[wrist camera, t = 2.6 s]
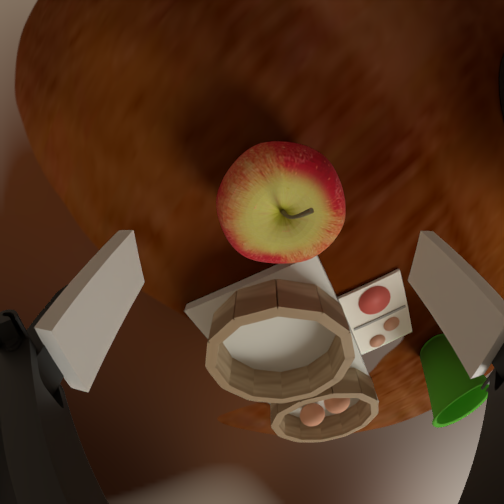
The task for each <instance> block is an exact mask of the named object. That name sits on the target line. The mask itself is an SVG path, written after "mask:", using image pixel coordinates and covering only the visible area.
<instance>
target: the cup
mask: <svg viewBox="0 0 504 504" xmlns="http://www.w3.org/2000/svg"><path fill="white" fill-rule="evenodd" d="M420 359H421V363H422V367H423V371H424V375H425V379H426V383H427V388H428V392H429V397H430V402H431V407H432V412H433V417H434V419H433V421H432V424H433V426H435V427H444V426H448V425H450V424H452V423H455V422H457V421H459V420H461V419H462V418H464V417H466V416H467V415H469V414H470V413H471V412H473V411H474V410H475V409H477V408H478V407H479V406H480V405H481V404H482V403H483V402H484V401H485V400H486V399H487V398H488V392H487V391H486V389H487V388H488V387H489V384H487V385H486V386H485V387H484V389H483V390H481V387H482V385H483V383H484V382H485V381H486V379H487V378H486V377H485V376H484V375H481V376H478V377H475V378H472V379H470V377H469V375H468V373H467V371H466V370H465V368H464V366H463V364H462V363H461V361H460V359H459V358H458V356H457V354H456V352H455V351H454V349H453V347H452V346H451V344H450V343H449V341H448V339H447V338H446V336H445V334H439V335H436V336H434V337H432V338H431V339H430V340H428V341H427V342H426V343H425V344H424V346H423V347H422V349H421V351H420Z"/></svg>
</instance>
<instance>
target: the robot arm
mask: <svg viewBox="0 0 504 504" xmlns="http://www.w3.org/2000/svg"><path fill="white" fill-rule="evenodd" d="M499 87H500V99H501V106H502V111H503V116H504V56H503V58H502V62H501V66H500V76H499ZM408 282H409V283H410V284H411V286H412V287H413V289H414V290H415V291H416V293H417V294H418V296H419V297H420V298H421V300H422V301H423V303H424V304H425V306H426V307H427V309H428V310H429V312H430V313H431V315H432V316H433V318H434V319H435V321H436V322H437V324H438V325H439V327H440V328H441V330H442V331H443V333H444V334H445V336H446V338H447V339H448V341H449V343H450V344H451V346H452V347H453V349H454V351H455V352H456V354H457V356H458V358H459V359H460V361H461V363H462V364H463V366H464V368H465V370H466V371H467V373H468V375H469V377H470V379H472V378H475V377H478V376H481V375H483V374H484V373H485V372H486V370H487V369H488V367H489V366H490V364H491V363H492V364H493V366H494V370H493V371H492V372H491V374H490V375H489V377H488V378H487V379H486V381H485V382H484V383H483V385H482V387H481V390H483V389H484V387H485V386H486V385H487V384H489V387H488V388H487V389H486V391H487V392H488V398H487V404H486V410H485V415H484V421H483V426H482V431H481V434H480V439H479V443H478V447H477V450H476V454H475V457H474V461H473V464H472V467H471V470H470V473H469V477H468V479H467V482H466V485H465V487H464V490H463V493H462V495H461V498H460V500H459V503H458V504H504V300H503V299H502V298H501V296H500V295H499V294H498V293H497V292H496V291H495V290H494V289H493V288H492V287H491V286H490V285H489V284H488V283H487V282H486V281H485V279H484V278H483V277H482V276H481V275H480V274H479V273H478V272H477V271H476V270H475V269H474V268H473V267H471V266H470V265H469V264H468V263H467V262H466V261H465V260H464V259H463V258H462V257H461V256H460V255H459V254H458V253H457V252H456V251H455V250H453V249H452V248H451V247H450V246H449V245H448V244H447V243H446V242H445V241H443V240H442V239H441V238H440V237H439V236H438V235H436V234H435V233H434V232H433V231H421V232H420V236H419V240H418V244H417V248H416V252H415V256H414V260H413V264H412V267H411V271H410V274H409V278H408ZM144 283H145V282H144V278H143V273H142V269H141V265H140V260H139V255H138V251H137V246H136V241H135V235H134V230H120V231H118V232H117V233H116V234H115V235H114V236H113V237H112V238H111V239H110V240H109V241H108V242H107V243H106V244H105V245H104V246H103V247H102V248H101V249H100V250H99V251H98V252H97V254H96V255H95V256H94V257H93V258H92V259H91V260H90V261H89V262H88V263H87V264H86V266H84V268H83V269H82V270H81V271H80V272H79V273H78V274H77V276H76V277H75V278H74V279H73V280H72V281H71V282H70V284H69V285H66V286H65V287H64V288H62V289H61V290H60V291H58V292H57V293H56V294H55V295H54V297H53V298H52V299H51V302H49V303H48V304H47V305H46V306H45V309H43V310H42V311H41V312H40V314H39V315H38V316H37V318H36V319H35V320H34V321H33V323H32V324H31V325H30V327H29V328H28V329H27V330H26V329H25V327H24V325H23V323H22V322H21V319H20V318H19V316H18V314H17V312H16V311H14V310H5V311H2V312H0V504H109V503H108V501H107V500H106V498H105V496H104V494H103V492H102V490H101V488H100V486H99V484H98V482H97V480H96V478H95V476H94V473H93V471H92V469H91V467H90V465H89V462H88V460H87V458H86V455H85V453H84V450H83V448H82V445H81V442H80V440H79V437H78V435H77V432H76V429H75V426H74V423H73V420H72V417H71V414H70V410H69V407H68V404H67V400H66V397H65V393H64V390H63V388H62V386H61V385H60V382H61V380H62V379H63V377H64V378H65V380H66V381H67V382H68V384H69V385H70V386H71V388H74V389H78V390H82V391H85V392H89V390H90V387H91V385H92V383H93V381H94V379H95V376H96V374H97V372H98V370H99V368H100V366H101V364H102V362H103V360H104V358H105V356H106V354H107V352H108V350H109V348H110V346H111V344H112V342H113V340H114V337H115V335H116V334H117V332H118V330H119V328H120V326H121V324H122V322H123V320H124V319H125V317H126V315H127V313H128V311H129V309H130V307H131V305H132V304H133V302H134V300H135V298H136V297H137V295H138V293H139V291H140V290H141V288H142V286H143V284H144Z"/></svg>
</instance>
